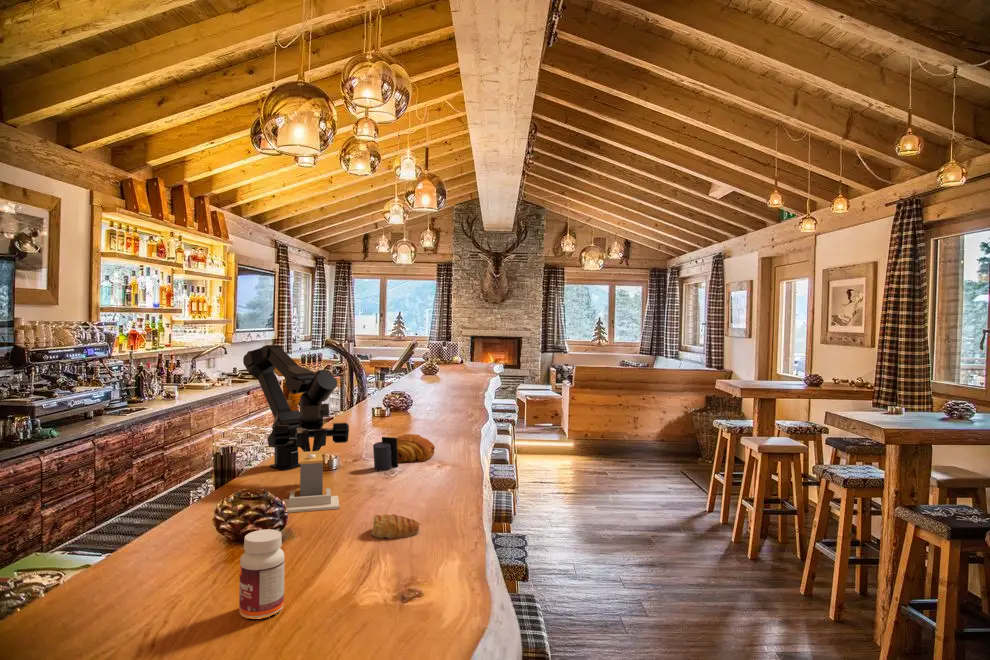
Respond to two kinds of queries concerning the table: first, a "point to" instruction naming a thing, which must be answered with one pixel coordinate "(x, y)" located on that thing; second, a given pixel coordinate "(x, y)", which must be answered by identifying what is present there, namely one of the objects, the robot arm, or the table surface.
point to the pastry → (394, 526)
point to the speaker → (385, 454)
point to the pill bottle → (261, 574)
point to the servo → (311, 473)
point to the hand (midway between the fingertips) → (311, 462)
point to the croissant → (414, 448)
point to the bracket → (311, 502)
